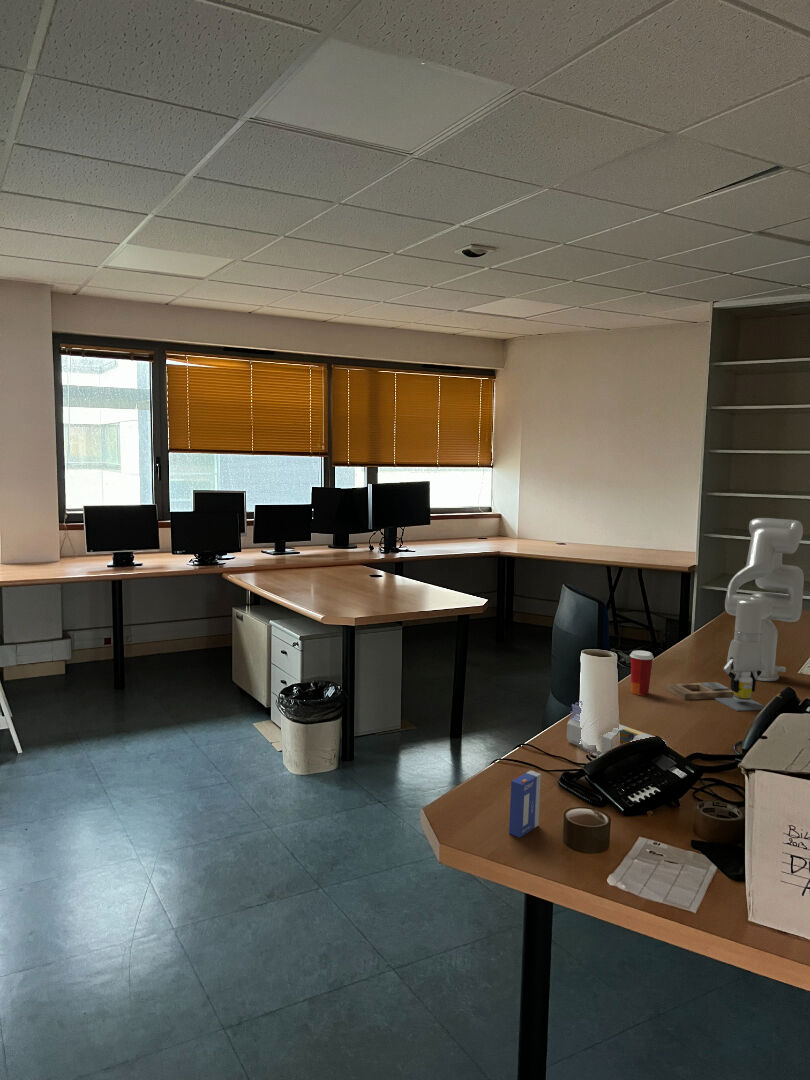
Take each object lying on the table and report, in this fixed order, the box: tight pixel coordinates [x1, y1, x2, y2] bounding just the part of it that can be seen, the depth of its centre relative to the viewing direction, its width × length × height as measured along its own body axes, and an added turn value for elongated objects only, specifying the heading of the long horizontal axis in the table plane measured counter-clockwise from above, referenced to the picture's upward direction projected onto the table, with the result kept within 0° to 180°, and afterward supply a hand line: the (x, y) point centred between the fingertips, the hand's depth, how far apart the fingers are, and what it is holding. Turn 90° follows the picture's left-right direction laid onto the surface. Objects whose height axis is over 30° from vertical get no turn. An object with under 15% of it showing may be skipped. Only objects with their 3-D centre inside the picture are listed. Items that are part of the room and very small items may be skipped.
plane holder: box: [666, 681, 734, 701], centre depth 267 cm, size 19×11×3 cm, turn 103°
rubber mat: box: [713, 697, 766, 712], centre depth 256 cm, size 12×12×1 cm
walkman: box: [508, 770, 542, 839], centre depth 166 cm, size 8×3×12 cm, turn 140°
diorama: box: [566, 700, 668, 756], centre depth 211 cm, size 25×10×13 cm, turn 38°
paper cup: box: [629, 650, 654, 696], centre depth 265 cm, size 8×8×14 cm
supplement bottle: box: [733, 672, 753, 701], centre depth 256 cm, size 5×5×10 cm
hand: (742, 690), depth 256 cm, fingers closed on supplement bottle, 5 cm apart
